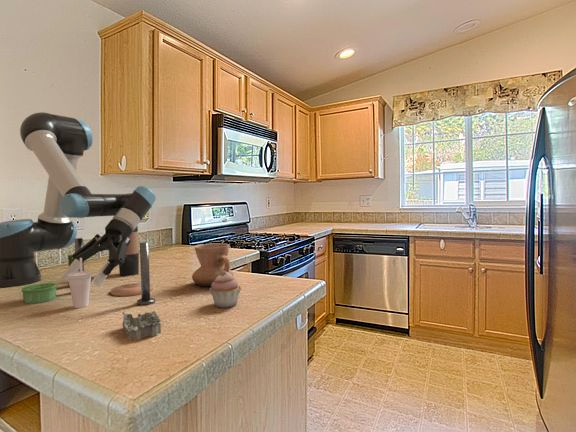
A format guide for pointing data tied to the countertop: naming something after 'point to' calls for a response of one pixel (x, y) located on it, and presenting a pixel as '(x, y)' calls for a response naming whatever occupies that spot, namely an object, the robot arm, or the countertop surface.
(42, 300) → the ramekin
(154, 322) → the grey castle model
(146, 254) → the rod gate
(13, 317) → the countertop surface
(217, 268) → the ceramic jug
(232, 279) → the cupcake
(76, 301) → the smoothie
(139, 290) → the coaster
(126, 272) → the travel mug
